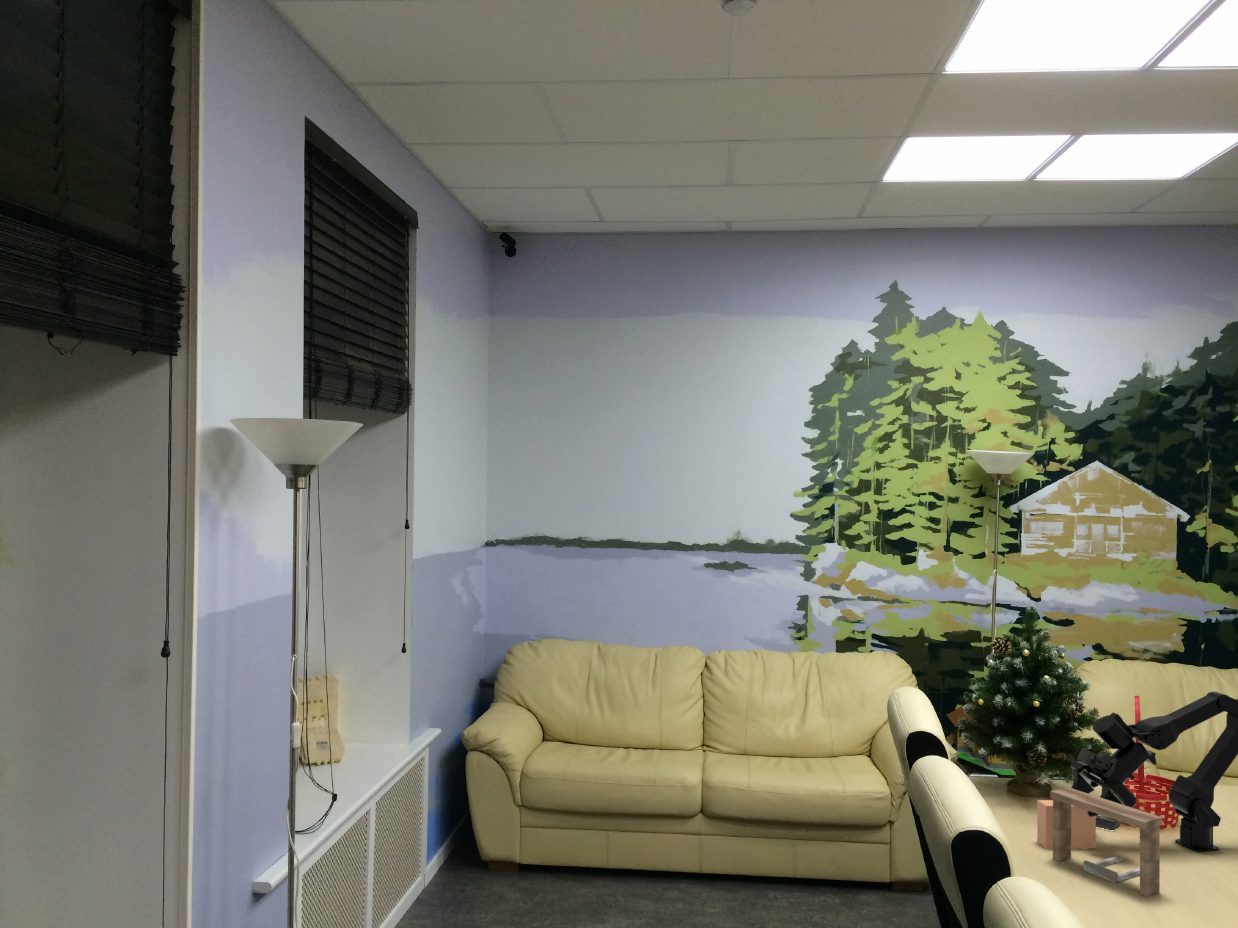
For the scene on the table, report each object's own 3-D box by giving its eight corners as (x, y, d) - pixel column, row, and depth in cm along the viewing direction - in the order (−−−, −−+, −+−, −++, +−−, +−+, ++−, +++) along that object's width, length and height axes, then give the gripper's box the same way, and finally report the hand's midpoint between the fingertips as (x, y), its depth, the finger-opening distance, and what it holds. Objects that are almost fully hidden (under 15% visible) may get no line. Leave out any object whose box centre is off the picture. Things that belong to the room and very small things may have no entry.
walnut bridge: (1087, 848, 210) (1087, 782, 210) (1182, 884, 191) (1182, 811, 191) (1049, 859, 203) (1050, 790, 203) (1144, 897, 184) (1144, 822, 185)
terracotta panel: (1086, 842, 214) (1086, 800, 214) (1095, 848, 210) (1095, 806, 210) (1037, 841, 213) (1037, 799, 214) (1045, 848, 209) (1046, 805, 210)
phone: (1059, 806, 237) (1121, 821, 227) (1059, 810, 237) (1121, 825, 227) (1049, 813, 231) (1112, 828, 221) (1049, 817, 231) (1112, 833, 221)
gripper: (1079, 727, 222) (1035, 771, 221) (1124, 749, 204) (1076, 796, 203) (1109, 760, 222) (1065, 803, 221) (1157, 784, 204) (1109, 832, 203)
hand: (1078, 808), depth 212 cm, fingers open, 9 cm apart
